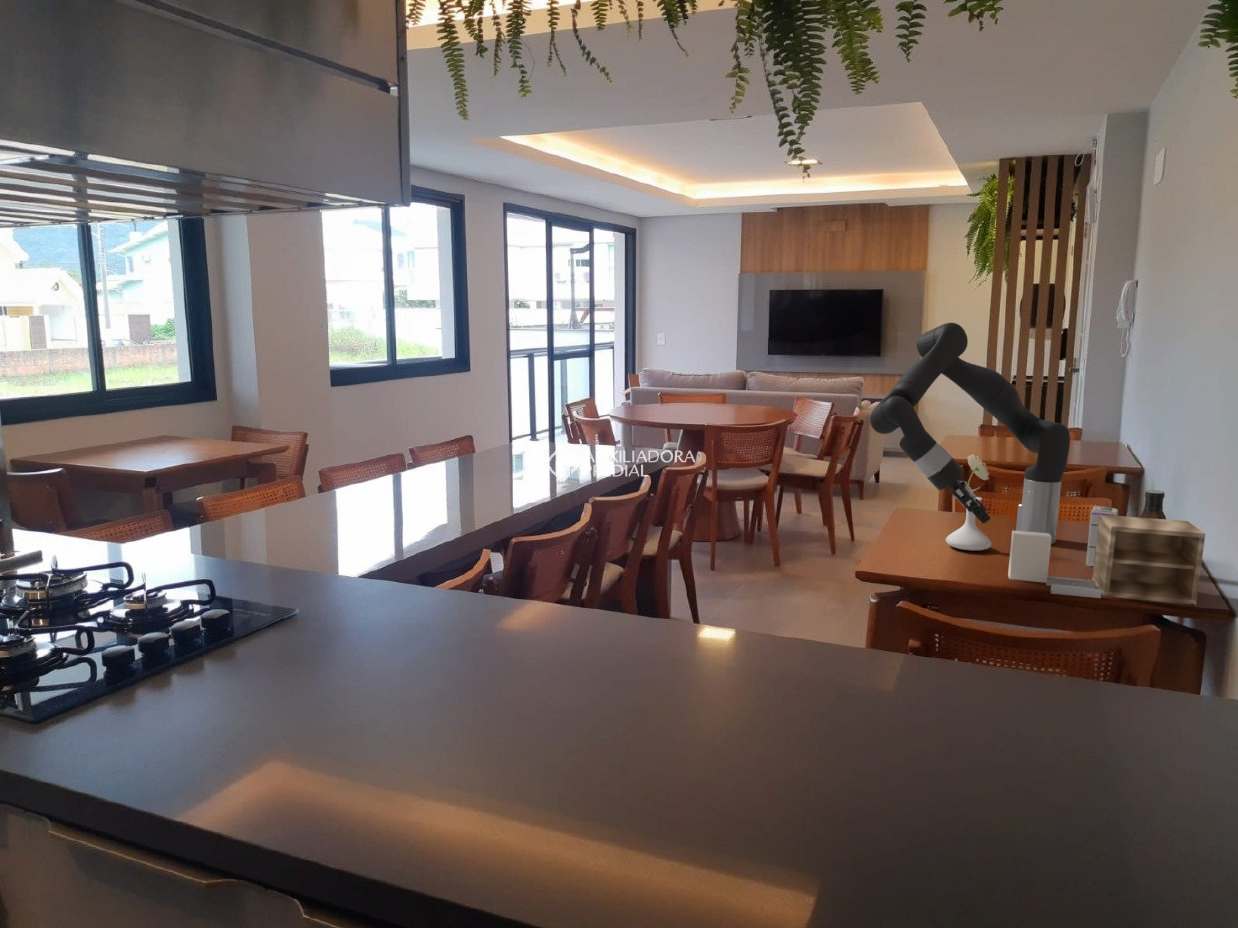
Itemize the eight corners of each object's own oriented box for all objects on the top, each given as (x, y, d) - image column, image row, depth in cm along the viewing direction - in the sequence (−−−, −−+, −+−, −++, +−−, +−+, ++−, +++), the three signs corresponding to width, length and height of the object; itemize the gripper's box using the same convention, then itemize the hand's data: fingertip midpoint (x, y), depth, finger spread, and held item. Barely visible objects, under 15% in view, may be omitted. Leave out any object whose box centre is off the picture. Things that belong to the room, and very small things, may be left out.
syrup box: (1111, 569, 217) (1118, 512, 214) (1084, 565, 220) (1091, 509, 217) (1113, 564, 222) (1119, 508, 219) (1086, 560, 225) (1092, 505, 222)
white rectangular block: (1009, 579, 208) (1014, 533, 206) (1008, 575, 211) (1012, 530, 209) (1046, 582, 205) (1051, 537, 203) (1044, 578, 209) (1049, 533, 207)
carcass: (1103, 596, 196) (1111, 526, 193) (1091, 580, 207) (1099, 514, 205) (1195, 605, 191) (1205, 533, 188) (1178, 588, 202) (1187, 521, 199)
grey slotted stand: (1051, 593, 197) (1051, 585, 197) (1045, 584, 204) (1046, 576, 204) (1100, 598, 194) (1101, 589, 194) (1093, 589, 201) (1094, 580, 201)
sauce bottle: (1155, 567, 220) (1164, 489, 216) (1167, 574, 214) (1178, 494, 210) (1127, 565, 220) (1136, 488, 217) (1139, 573, 214) (1149, 493, 211)
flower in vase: (995, 555, 228) (1004, 460, 224) (948, 552, 230) (956, 458, 226) (984, 542, 241) (993, 452, 236) (941, 540, 243) (948, 450, 239)
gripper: (924, 470, 218) (970, 519, 217) (926, 481, 204) (975, 534, 203) (949, 451, 215) (995, 500, 214) (952, 460, 202) (1002, 513, 201)
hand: (985, 516), depth 209 cm, fingers open, 8 cm apart
